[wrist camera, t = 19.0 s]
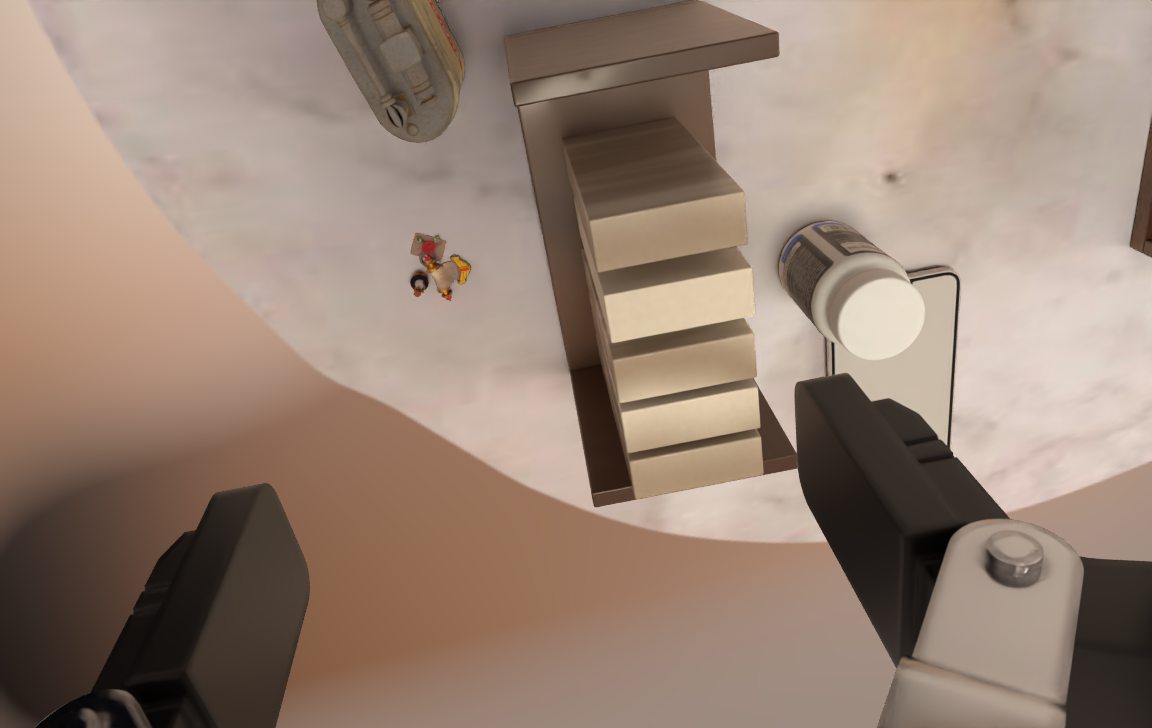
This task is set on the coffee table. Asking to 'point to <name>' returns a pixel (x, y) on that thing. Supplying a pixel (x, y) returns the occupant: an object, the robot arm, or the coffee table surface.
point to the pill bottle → (851, 290)
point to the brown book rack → (1144, 208)
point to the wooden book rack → (644, 239)
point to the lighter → (399, 61)
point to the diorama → (436, 266)
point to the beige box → (673, 292)
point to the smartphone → (916, 357)
